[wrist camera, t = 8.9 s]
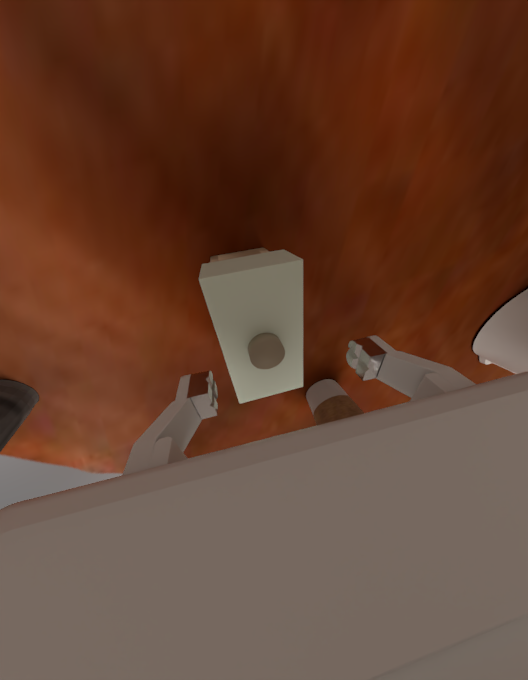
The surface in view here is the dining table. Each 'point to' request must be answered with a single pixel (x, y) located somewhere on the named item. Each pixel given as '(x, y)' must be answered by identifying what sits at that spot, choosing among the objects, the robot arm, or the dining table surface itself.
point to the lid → (258, 320)
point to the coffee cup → (330, 402)
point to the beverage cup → (14, 407)
